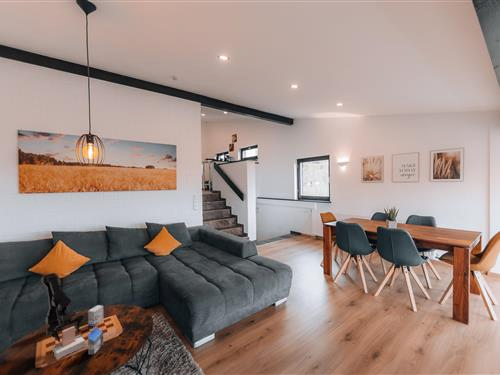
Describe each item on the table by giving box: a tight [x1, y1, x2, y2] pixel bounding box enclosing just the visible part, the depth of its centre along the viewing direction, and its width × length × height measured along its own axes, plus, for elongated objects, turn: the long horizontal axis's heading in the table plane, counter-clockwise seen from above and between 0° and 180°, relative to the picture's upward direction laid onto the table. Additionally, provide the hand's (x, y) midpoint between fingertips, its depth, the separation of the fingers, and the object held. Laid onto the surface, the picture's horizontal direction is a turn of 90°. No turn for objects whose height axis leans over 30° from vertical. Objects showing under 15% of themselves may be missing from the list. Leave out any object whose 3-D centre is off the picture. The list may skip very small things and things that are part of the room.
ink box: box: [87, 304, 104, 326], centre depth 170 cm, size 9×5×12 cm, turn 168°
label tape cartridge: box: [87, 325, 104, 356], centre depth 144 cm, size 9×4×12 cm, turn 1°
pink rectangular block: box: [61, 325, 76, 347], centre depth 144 cm, size 2×6×13 cm, turn 143°
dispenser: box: [52, 334, 86, 361], centre depth 144 cm, size 8×14×5 cm, turn 143°
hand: (69, 337), depth 144 cm, fingers open, 9 cm apart
